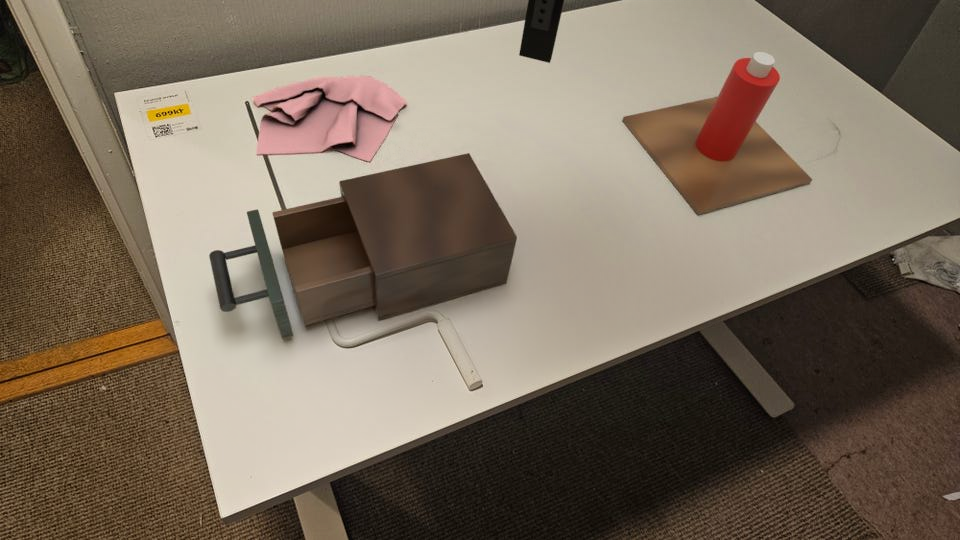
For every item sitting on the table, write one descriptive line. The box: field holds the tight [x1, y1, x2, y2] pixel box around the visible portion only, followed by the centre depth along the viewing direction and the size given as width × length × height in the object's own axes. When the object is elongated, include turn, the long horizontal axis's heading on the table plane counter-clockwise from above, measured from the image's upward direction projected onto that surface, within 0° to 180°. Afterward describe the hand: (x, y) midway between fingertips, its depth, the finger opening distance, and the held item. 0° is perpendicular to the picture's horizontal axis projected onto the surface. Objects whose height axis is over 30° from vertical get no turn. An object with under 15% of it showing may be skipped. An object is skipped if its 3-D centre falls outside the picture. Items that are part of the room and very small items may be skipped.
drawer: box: [208, 196, 376, 340], centre depth 66 cm, size 19×12×7 cm, turn 113°
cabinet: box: [338, 152, 518, 321], centre depth 70 cm, size 16×14×9 cm
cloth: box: [252, 75, 408, 163], centre depth 85 cm, size 20×22×2 cm
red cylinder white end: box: [696, 51, 781, 161], centre depth 83 cm, size 6×6×15 cm
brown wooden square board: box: [622, 96, 813, 216], centre depth 90 cm, size 20×20×1 cm
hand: (550, 16), depth 56 cm, fingers open, 13 cm apart
